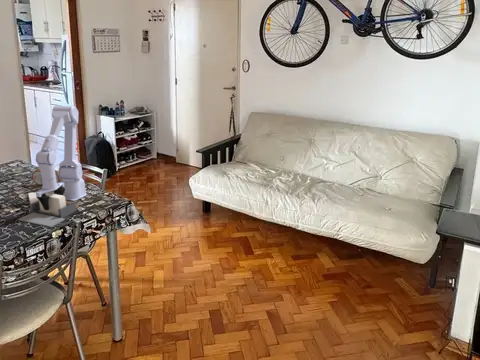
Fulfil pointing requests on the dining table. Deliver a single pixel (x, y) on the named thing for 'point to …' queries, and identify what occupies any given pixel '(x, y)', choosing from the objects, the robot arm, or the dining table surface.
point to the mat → (41, 219)
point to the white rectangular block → (54, 203)
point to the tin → (38, 178)
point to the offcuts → (70, 203)
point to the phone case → (32, 197)
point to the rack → (62, 211)
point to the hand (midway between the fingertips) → (53, 206)
